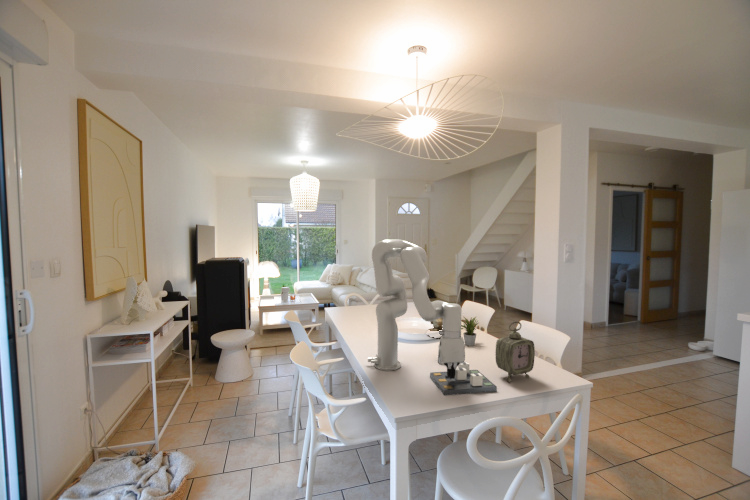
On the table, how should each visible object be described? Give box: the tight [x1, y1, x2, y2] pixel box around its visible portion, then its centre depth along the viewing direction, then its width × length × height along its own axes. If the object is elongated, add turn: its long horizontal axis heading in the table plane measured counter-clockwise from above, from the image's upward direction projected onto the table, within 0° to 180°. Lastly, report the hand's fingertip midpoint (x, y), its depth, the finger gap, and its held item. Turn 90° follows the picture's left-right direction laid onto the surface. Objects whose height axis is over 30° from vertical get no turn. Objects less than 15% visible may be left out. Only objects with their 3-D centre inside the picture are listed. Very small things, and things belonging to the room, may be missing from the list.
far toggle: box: [457, 361, 470, 373], centre depth 145 cm, size 4×2×4 cm, turn 99°
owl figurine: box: [427, 318, 443, 340], centre depth 208 cm, size 18×12×17 cm, turn 0°
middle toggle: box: [455, 366, 467, 380], centre depth 139 cm, size 4×2×4 cm, turn 99°
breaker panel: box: [429, 369, 498, 396], centre depth 139 cm, size 22×17×3 cm
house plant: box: [461, 316, 482, 347], centre depth 190 cm, size 14×14×16 cm
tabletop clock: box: [494, 321, 536, 383], centre depth 145 cm, size 14×9×25 cm, turn 114°
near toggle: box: [470, 372, 483, 386], centre depth 133 cm, size 4×2×4 cm, turn 99°
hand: (451, 377), depth 138 cm, fingers closed
